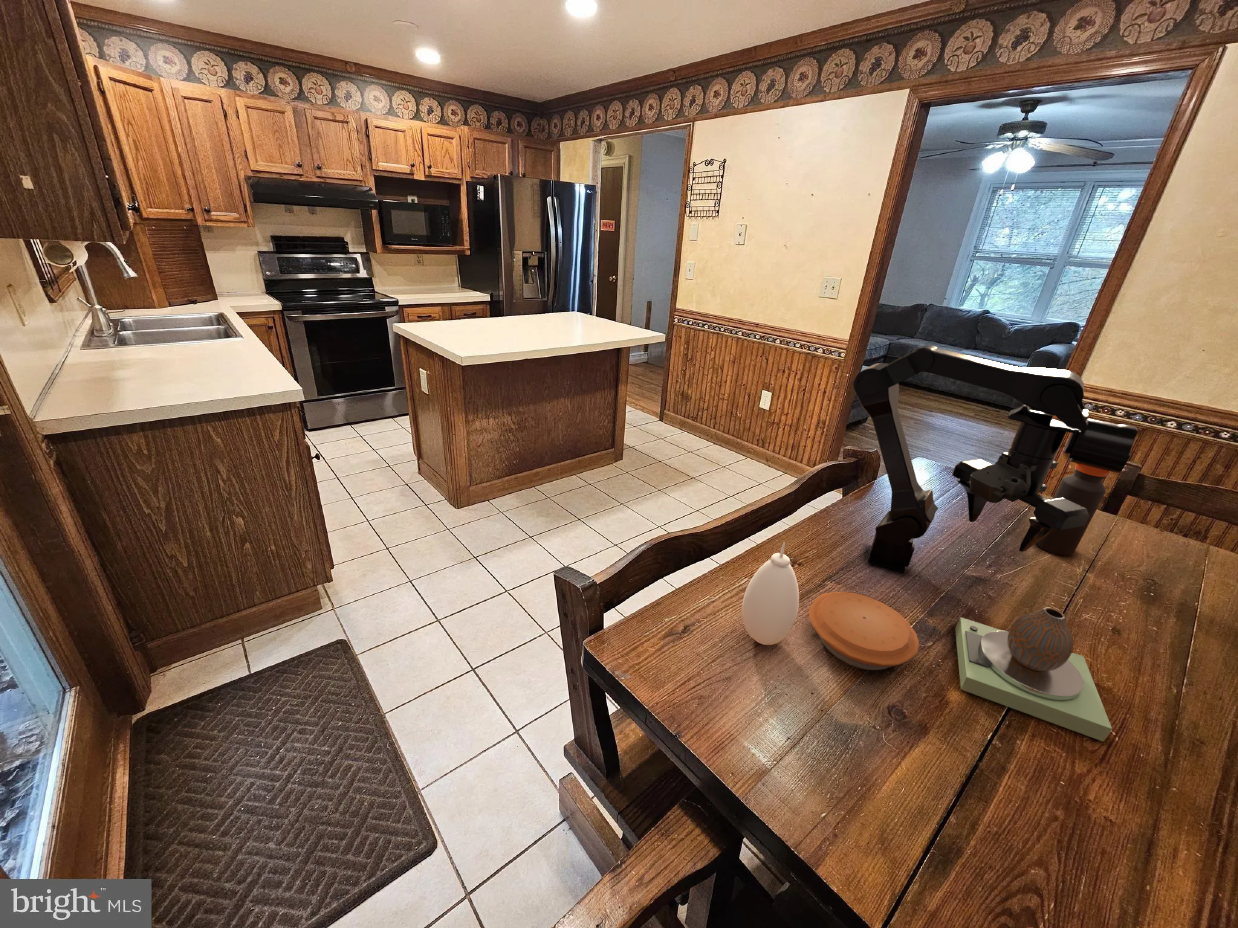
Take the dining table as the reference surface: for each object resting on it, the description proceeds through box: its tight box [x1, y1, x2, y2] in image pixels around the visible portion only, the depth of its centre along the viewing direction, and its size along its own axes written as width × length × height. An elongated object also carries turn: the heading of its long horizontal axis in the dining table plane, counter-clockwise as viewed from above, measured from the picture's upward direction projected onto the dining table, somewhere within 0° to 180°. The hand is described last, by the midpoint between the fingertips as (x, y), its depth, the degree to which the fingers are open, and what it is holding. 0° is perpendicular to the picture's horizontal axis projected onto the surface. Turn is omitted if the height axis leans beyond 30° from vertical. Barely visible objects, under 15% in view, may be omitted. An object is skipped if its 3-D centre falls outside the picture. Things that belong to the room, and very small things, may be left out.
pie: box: [808, 591, 920, 671], centre depth 79 cm, size 15×16×5 cm
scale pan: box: [979, 630, 1083, 700], centre depth 74 cm, size 12×12×1 cm
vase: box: [1007, 606, 1074, 671], centre depth 72 cm, size 7×7×9 cm
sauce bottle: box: [741, 541, 800, 646], centre depth 76 cm, size 8×8×18 cm
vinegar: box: [1035, 463, 1110, 557], centre depth 104 cm, size 7×7×20 cm
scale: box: [954, 616, 1113, 742], centre depth 74 cm, size 16×14×3 cm
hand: (995, 535), depth 87 cm, fingers open, 9 cm apart
